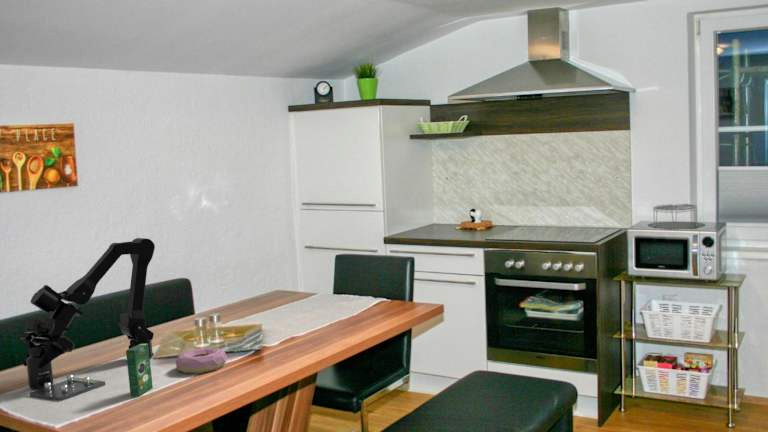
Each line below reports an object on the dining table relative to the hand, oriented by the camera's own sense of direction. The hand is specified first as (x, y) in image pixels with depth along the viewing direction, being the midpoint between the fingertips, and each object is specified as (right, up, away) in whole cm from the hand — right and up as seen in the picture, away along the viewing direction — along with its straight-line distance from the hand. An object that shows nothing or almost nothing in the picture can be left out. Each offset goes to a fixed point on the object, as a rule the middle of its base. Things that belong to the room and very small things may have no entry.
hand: (31, 366), depth 235 cm
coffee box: (+36, -5, -12) cm, 39 cm away
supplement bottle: (+2, -6, +3) cm, 7 cm away
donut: (+48, -2, +9) cm, 49 cm away
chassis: (+13, -6, -4) cm, 15 cm away
